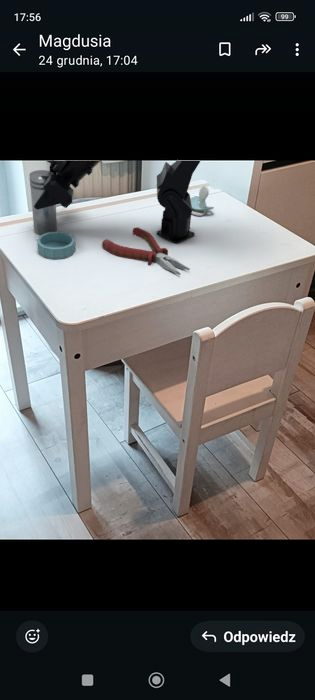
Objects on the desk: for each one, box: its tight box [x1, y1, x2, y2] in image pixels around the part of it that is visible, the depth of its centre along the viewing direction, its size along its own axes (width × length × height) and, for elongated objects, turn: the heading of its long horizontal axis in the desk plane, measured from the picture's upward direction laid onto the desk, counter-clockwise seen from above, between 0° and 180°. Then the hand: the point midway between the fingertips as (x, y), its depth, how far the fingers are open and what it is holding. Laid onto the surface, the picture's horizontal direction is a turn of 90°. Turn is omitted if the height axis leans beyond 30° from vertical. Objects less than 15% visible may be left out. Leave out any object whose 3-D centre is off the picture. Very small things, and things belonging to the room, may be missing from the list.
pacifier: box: [190, 185, 214, 217], centre depth 140 cm, size 7×6×6 cm
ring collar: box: [36, 231, 76, 260], centre depth 122 cm, size 8×8×2 cm
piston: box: [29, 169, 58, 236], centre depth 125 cm, size 5×5×13 cm
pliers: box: [101, 227, 191, 276], centre depth 122 cm, size 12×20×3 cm, turn 46°
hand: (37, 202), depth 125 cm, fingers closed on piston, 5 cm apart
